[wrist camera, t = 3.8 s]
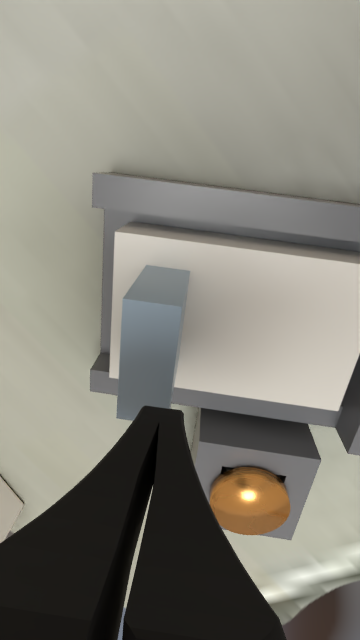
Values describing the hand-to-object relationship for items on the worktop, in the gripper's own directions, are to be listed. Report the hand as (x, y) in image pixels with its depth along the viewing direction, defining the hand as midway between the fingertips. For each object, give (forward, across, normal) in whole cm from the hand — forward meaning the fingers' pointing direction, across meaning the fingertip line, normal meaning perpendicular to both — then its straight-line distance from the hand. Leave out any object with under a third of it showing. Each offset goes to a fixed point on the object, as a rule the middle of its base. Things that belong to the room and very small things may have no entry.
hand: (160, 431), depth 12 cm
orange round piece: (+9, -5, +9) cm, 13 cm away
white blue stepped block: (+9, -3, -2) cm, 10 cm away
